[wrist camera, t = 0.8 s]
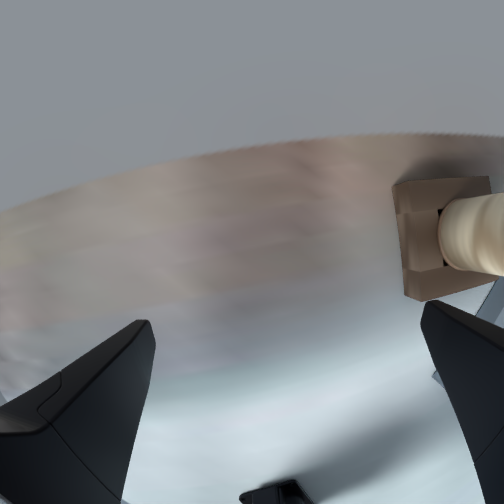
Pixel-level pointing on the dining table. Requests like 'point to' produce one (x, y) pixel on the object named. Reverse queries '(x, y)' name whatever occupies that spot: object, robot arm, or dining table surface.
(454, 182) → the frame
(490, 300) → the board
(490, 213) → the leg
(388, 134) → the dining table surface
